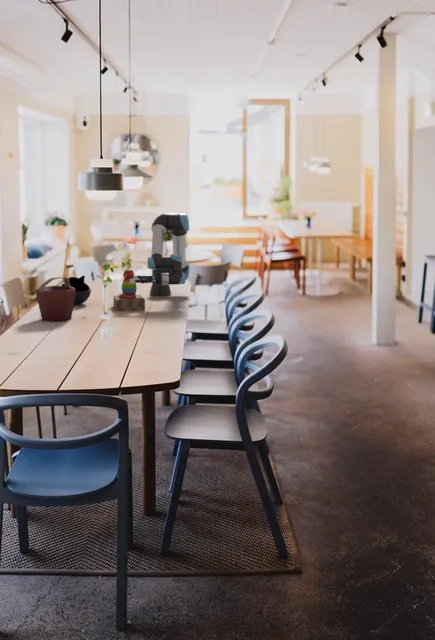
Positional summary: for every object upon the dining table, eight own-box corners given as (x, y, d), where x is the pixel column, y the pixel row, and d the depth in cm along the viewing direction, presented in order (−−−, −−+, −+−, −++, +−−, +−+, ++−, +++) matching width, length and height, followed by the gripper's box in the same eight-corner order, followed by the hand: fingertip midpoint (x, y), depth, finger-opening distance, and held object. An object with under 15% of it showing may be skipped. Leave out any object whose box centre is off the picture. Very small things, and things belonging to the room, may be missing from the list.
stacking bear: (117, 297, 507) (116, 269, 504) (129, 295, 515) (128, 268, 511) (128, 299, 500) (128, 271, 497) (140, 297, 508) (140, 269, 504)
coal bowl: (63, 307, 508) (62, 278, 505) (58, 303, 527) (57, 275, 523) (94, 306, 516) (93, 277, 512) (87, 301, 534) (87, 273, 530)
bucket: (64, 314, 484) (63, 274, 480) (85, 319, 469) (84, 277, 464) (29, 319, 468) (27, 277, 463) (49, 324, 452) (47, 281, 448)
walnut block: (141, 305, 519) (141, 294, 518) (145, 310, 502) (144, 299, 501) (113, 306, 515) (113, 295, 514) (116, 311, 498) (116, 300, 497)
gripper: (164, 287, 499) (130, 288, 494) (158, 282, 523) (126, 282, 518) (164, 275, 497) (130, 276, 493) (158, 270, 521) (126, 271, 517)
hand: (128, 279), depth 505 cm, fingers open, 13 cm apart
